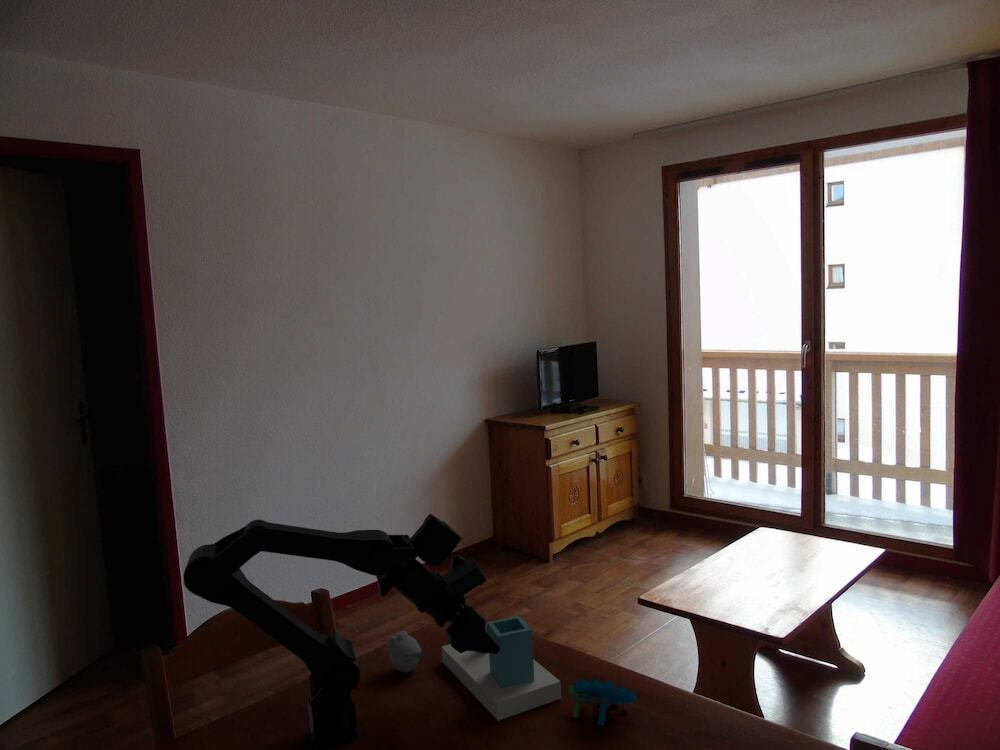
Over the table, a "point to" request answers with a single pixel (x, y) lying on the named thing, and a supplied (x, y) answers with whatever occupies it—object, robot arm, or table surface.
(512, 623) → the collar
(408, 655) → the grey rounded lump
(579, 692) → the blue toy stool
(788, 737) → the table surface
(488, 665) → the board
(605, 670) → the table surface
